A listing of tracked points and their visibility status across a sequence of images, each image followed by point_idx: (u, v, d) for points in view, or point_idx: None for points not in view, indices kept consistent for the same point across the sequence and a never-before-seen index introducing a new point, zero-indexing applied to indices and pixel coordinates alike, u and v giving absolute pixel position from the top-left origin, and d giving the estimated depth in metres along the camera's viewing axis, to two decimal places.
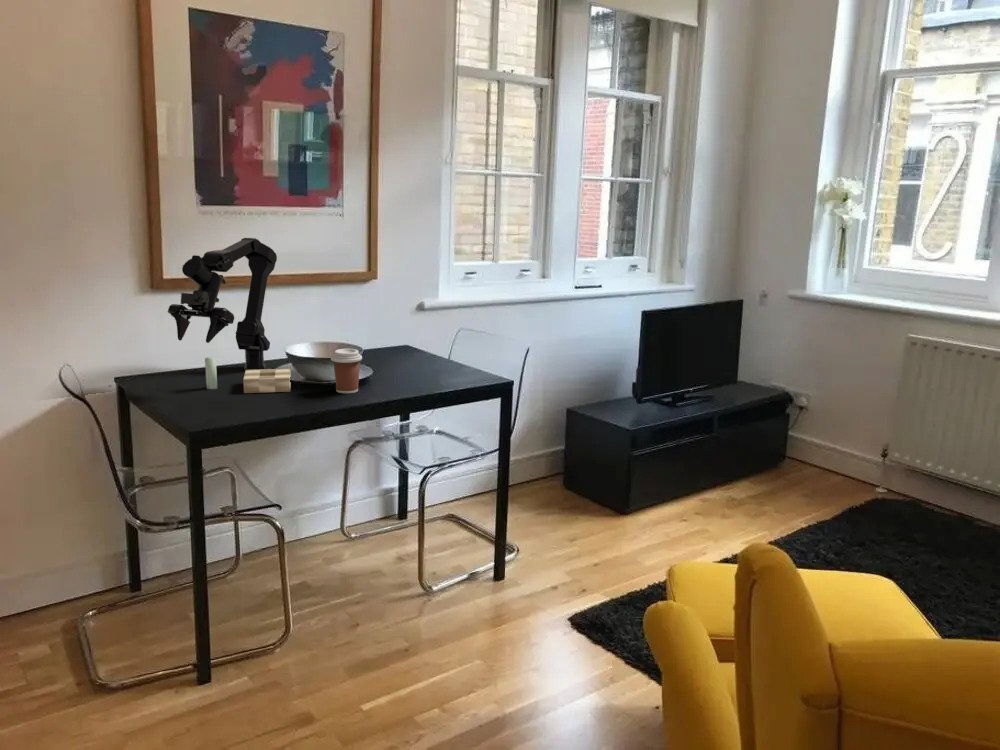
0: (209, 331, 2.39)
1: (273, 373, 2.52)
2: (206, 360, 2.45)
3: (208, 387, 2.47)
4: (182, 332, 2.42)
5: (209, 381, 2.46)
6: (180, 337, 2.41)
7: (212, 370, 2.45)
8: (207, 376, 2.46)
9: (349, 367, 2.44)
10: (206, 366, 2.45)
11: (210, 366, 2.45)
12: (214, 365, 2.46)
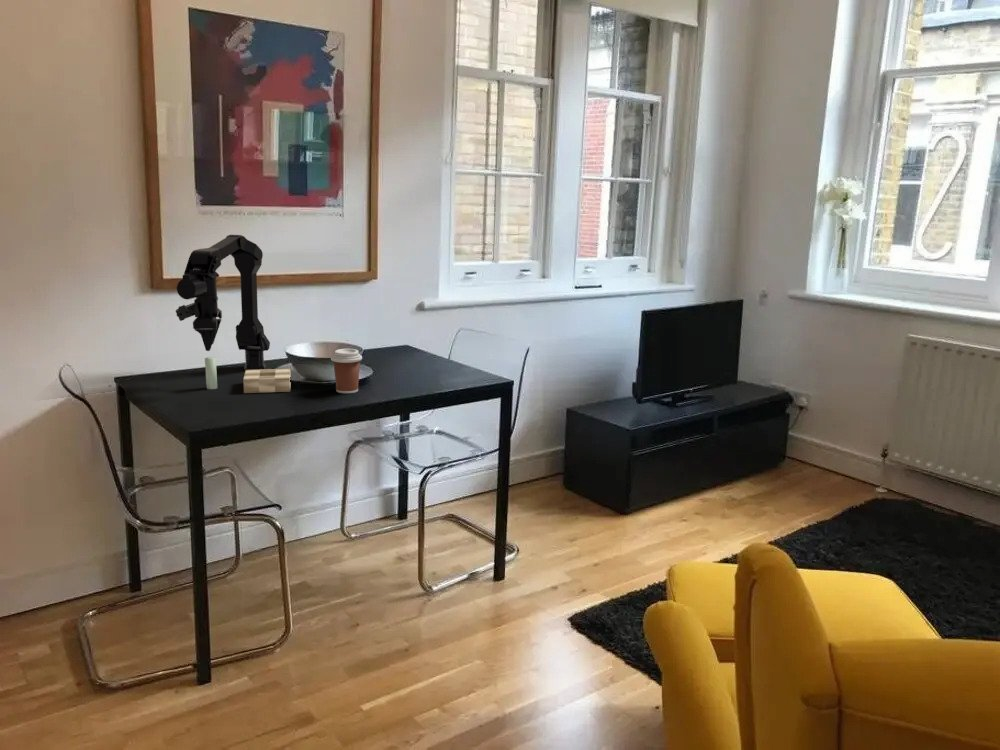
0: (203, 341, 2.39)
1: (273, 373, 2.52)
2: (206, 360, 2.45)
3: (208, 387, 2.47)
4: None
5: (209, 381, 2.46)
6: None
7: (212, 370, 2.45)
8: (207, 376, 2.46)
9: (349, 367, 2.44)
10: (206, 366, 2.45)
11: (210, 366, 2.45)
12: (214, 365, 2.46)
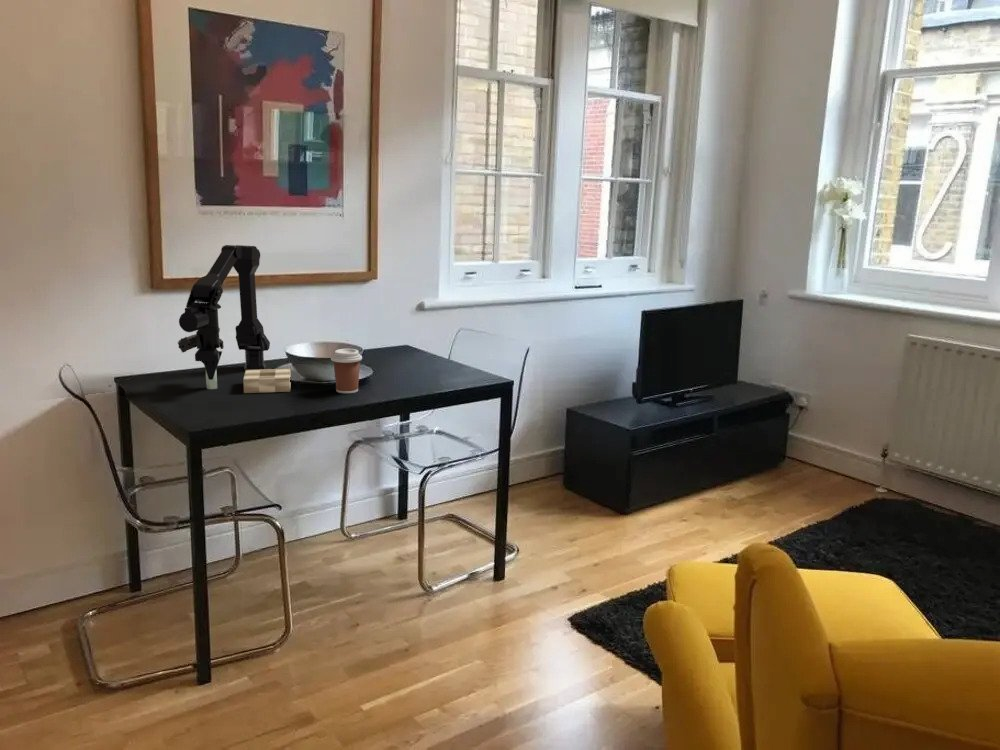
0: (206, 370, 2.44)
1: (273, 373, 2.52)
2: None
3: (208, 387, 2.46)
4: None
5: (209, 381, 2.46)
6: None
7: None
8: (207, 376, 2.46)
9: (349, 367, 2.44)
10: None
11: None
12: None
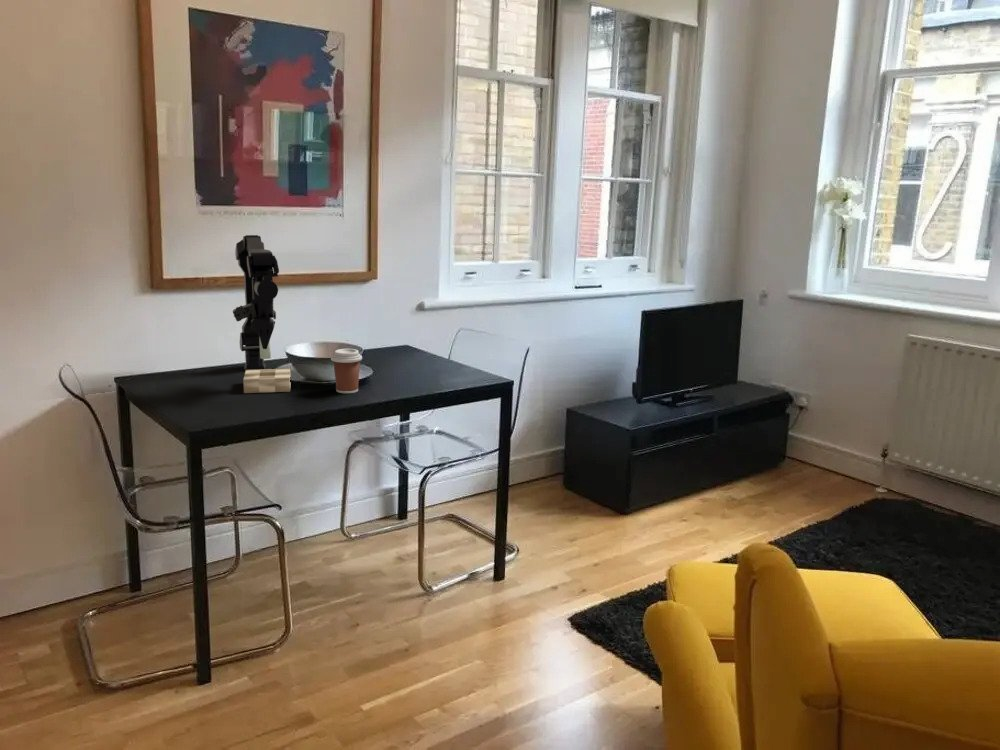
0: (260, 339, 2.45)
1: (273, 373, 2.52)
2: None
3: (262, 357, 2.47)
4: None
5: (263, 350, 2.46)
6: None
7: None
8: (261, 345, 2.46)
9: (349, 367, 2.44)
10: None
11: None
12: None
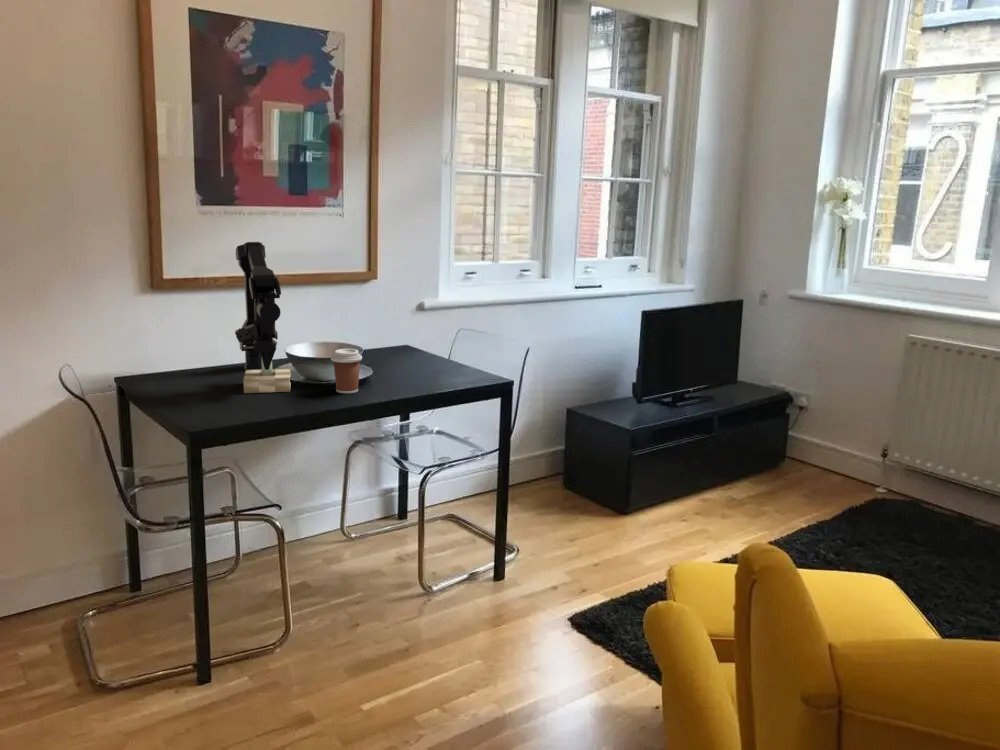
0: None
1: (273, 373, 2.52)
2: None
3: None
4: None
5: (265, 371, 2.48)
6: None
7: None
8: (263, 366, 2.48)
9: (349, 367, 2.44)
10: None
11: None
12: None
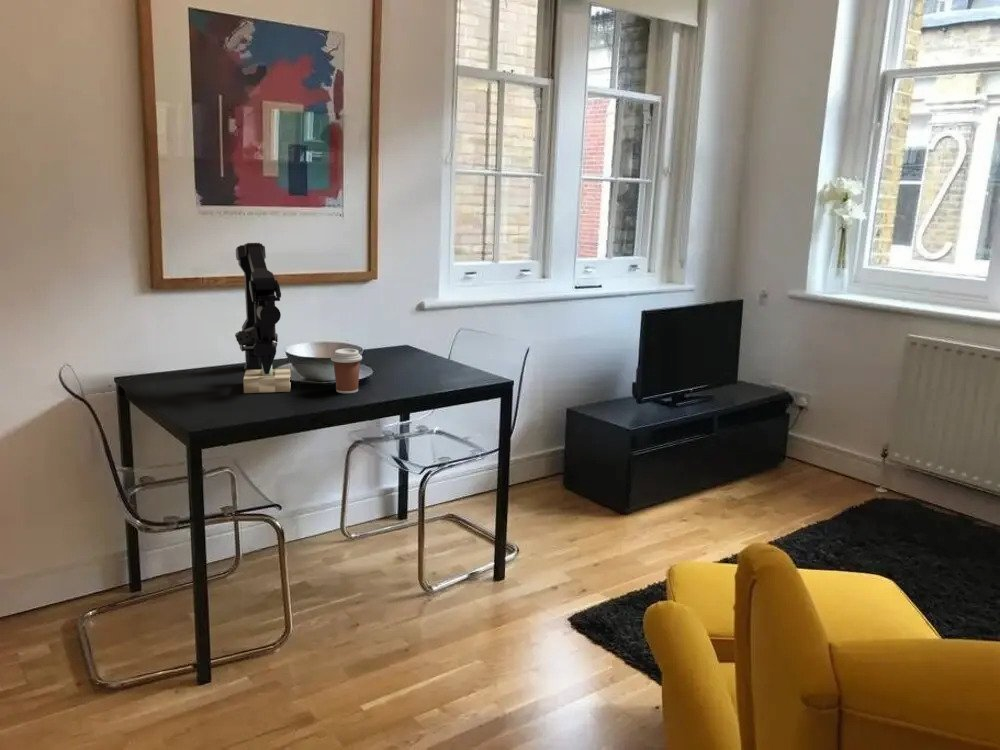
0: (262, 364, 2.44)
1: (273, 373, 2.52)
2: None
3: None
4: None
5: None
6: None
7: None
8: (263, 375, 2.48)
9: (349, 367, 2.44)
10: None
11: None
12: None
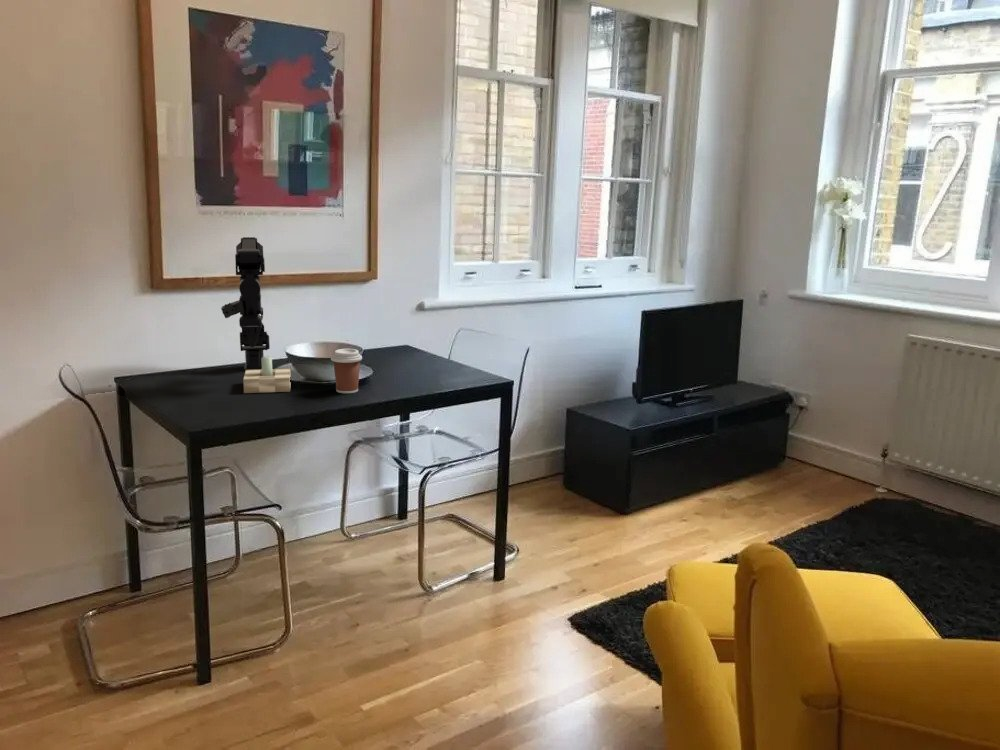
0: (248, 337, 2.48)
1: (273, 373, 2.52)
2: (263, 359, 2.47)
3: None
4: None
5: None
6: None
7: (268, 369, 2.48)
8: (263, 375, 2.48)
9: (349, 367, 2.44)
10: (263, 365, 2.48)
11: (267, 365, 2.48)
12: (270, 364, 2.48)
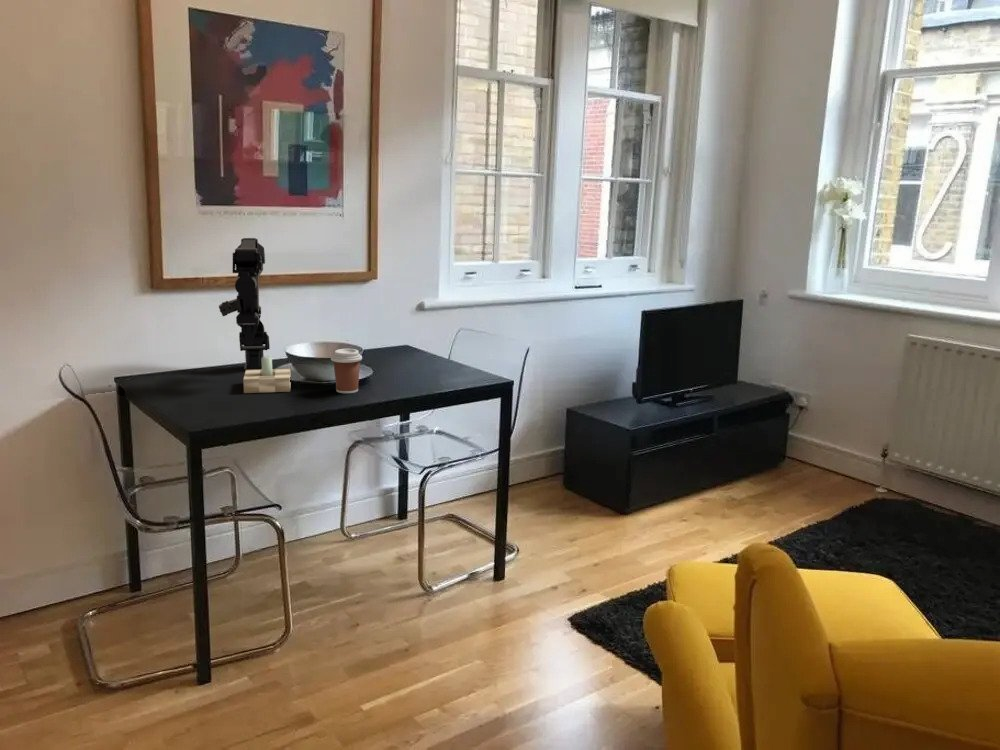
0: (245, 335, 2.49)
1: (273, 373, 2.52)
2: (263, 359, 2.47)
3: None
4: None
5: None
6: None
7: (268, 369, 2.48)
8: (263, 375, 2.48)
9: (349, 367, 2.44)
10: (263, 365, 2.48)
11: (267, 365, 2.48)
12: (270, 364, 2.48)
